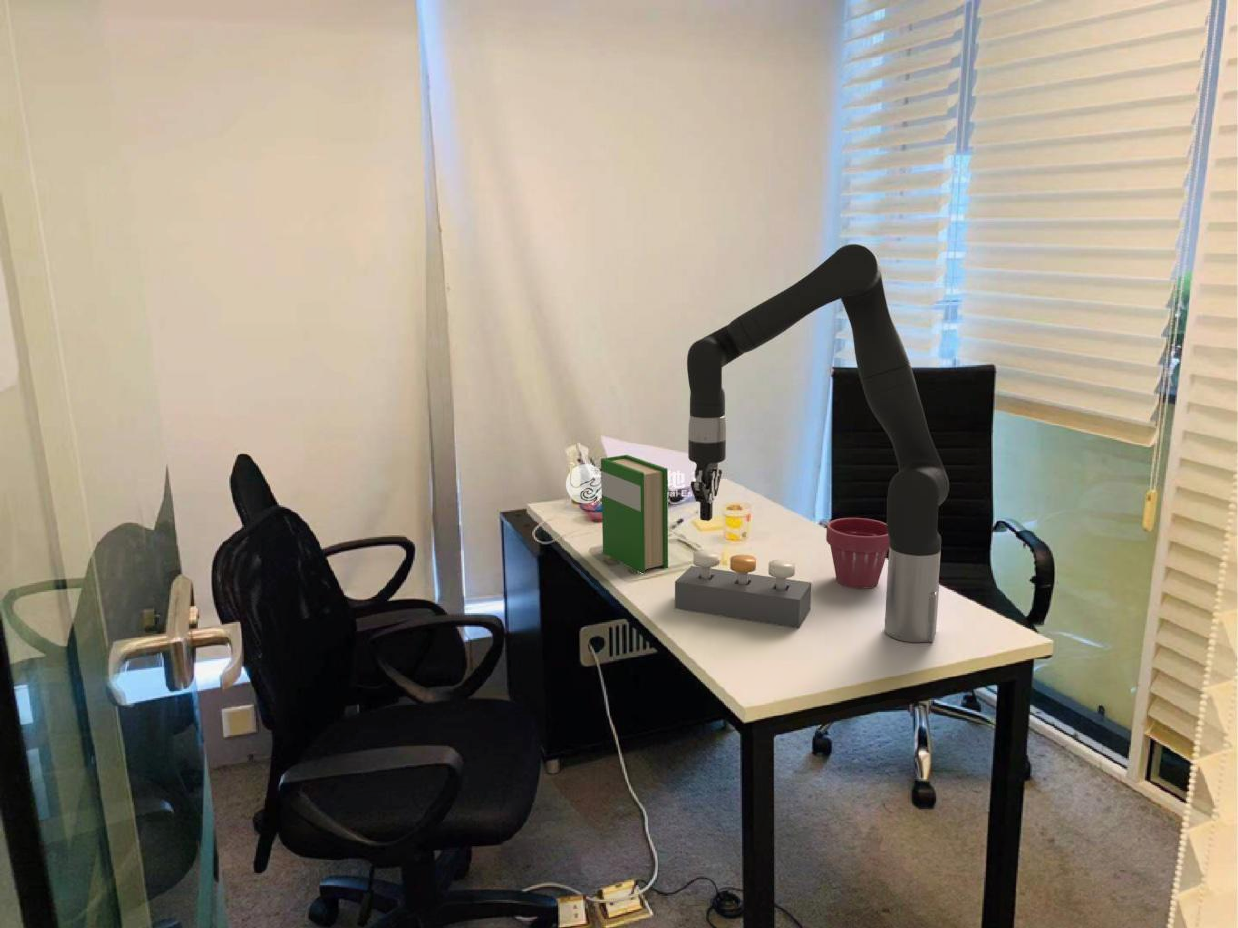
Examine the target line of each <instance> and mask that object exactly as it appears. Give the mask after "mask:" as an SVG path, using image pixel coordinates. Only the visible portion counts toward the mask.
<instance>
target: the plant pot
mask: <svg viewBox="0 0 1238 928" xmlns="http://www.w3.org/2000/svg"><path fill="white" fill-rule="evenodd" d="M825 541H826V543H827V544H828V545H829V546H830V551H831V557H832V563H833V568H834V569H833V570H834V573H835V579H836V581H837V582H838V583H839V584H840V585H842V586H845V587H848V588H854V589H871V588H874V587H876V586H877V585H878V583H879V582H880V581H879V580H880V577H881V574H882V571H883V568H884V565H885V561H886V557H887V554H888V552H889V535H888V532H887V522H886V523H885V522H883V521H880V520H875V519H871V518H865V517H864V518H861V517H843V518H837V519H834V520H831V521H829V522H828V523H827V524H826V536H825Z"/></svg>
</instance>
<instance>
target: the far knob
mask: <svg viewBox="0 0 1238 928" xmlns="http://www.w3.org/2000/svg"><path fill="white" fill-rule="evenodd" d="M692 554H693V558H692V559H693V562H692V563H693V566H695V567H701V579H706V580H711V569H712V568H715V567H717V566H718V565H719V561H720V560H719V556H720V555H719V553H718V552H717V551H716V550H712V549H711V550H710V549H700V550H696V551H694V552H693V553H692Z"/></svg>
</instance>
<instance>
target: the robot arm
mask: <svg viewBox="0 0 1238 928" xmlns="http://www.w3.org/2000/svg"><path fill="white" fill-rule="evenodd" d="M883 282H884V281H883V277H882V268H881V262H880V260H879V258H878V257H877V256H876V254H875V253H874V252H873V251H872V250H871V249H870V248H868V247H867V246H866V245H863V244H859V243H850V244H846V245H843V246H841V247H840V248H838V249H837V250H835V252H834V253H833V254H831V256H829V257H828V258H827V259H826V260H824V261H823V262H822V263H821V264H820V265H819V266H817V267H816V268H815V269H814V270H812V271H811V272H809V274H807V275H806V276H804V277H803V278H801V279H800V280H798V281H797V282H795V283H794V284H792V285H791V286H789V287H787V288H786V289H785V290H782V291H780V292H778V293H777V294H776V295H774V296H772V297H770V298H768V299H766V300H765V301H762V302H761V303H760V304H757V305H756V306H754V307H751V308H750V309H748V310H746V312H743V313H742V314H741V315H739V316H737V317H736V318H735V319H733V320H731V322H730V323H728V324H727V325H725V326H723V327H721V328H718V329H717V330H715V331H713V332H712V333H710V334H708V335H706V336H704V337H702V338H701V339H698V340H696V341H695V342H693V343H692V344H691V345H690V347H689V349H688V352H687V354H686V355H687V356H686V368H687V369H686V370H687V377H688V378H687V379H688V384H689V385H688V386H689V392H690V394H689V420H688V435H687V436H688V438H687V439H688V445H687V446H688V448H687V449H688V453H687V454H688V455H687V457H688V460H689V461H690V462H693V463H695V464H696V466H695V470H694V479H695V480H694V481H693V480H691V482H690V488H691V491H692V494H693V497H694V500H695V502H697V503H699V519H700V520H701V521H704V522H705V521H706V522H709V521H711V520H712V519H713V503H714V502H715V497H717V496H718V492H719V487H720V483H721V478H722V474H723V470H722V469H719V468H718V466H719V464H720V463H722V462H724V461H725V460H726V455H727V454H726V450H727V449H726V447H727V446H726V444H727V424H726V394H725V389H724V388H723V376H722V374H723V368H724V367H725V366H726V365H728V364H730V363H732V362H733V361H735V360H736V359H738V358H739V357H741V356H743V354H745V353H749V352H751V351H754V350H756V349H757V348H759V347H761V346H762V345H764V344H766V343H768V342H770V341H772V340H773V339H775V338H776V337H778V336H779V335H781V334H783V333H784V332H785V331H787V330H790V328H791V327H792V326H794V325H795V324H797V323H798V322H800V321H801V320H802V319H804V318H805V317H807V316H808V315H810V314H812V313H813V312H815V311H817V310H818V309H820V308H822V307H824V306H826V305H829V304H831V303H833V302H835V301H838V300H841V303H842V305H843V308H844V310H845V312H846V316H847V318H848V320H849V324H850V327H851V331H852V332H851V333H852V341H853V350H854V355H855V361H856V367H857V371H858V376H859V379H860V383H861V386H862V390H863V393H864V396H865V399H866V401H867V404H868V406H869V408H870V410H871V412H872V413H873V415H874V417H875V418H876V419H877V421H878V422H879V424H880V425H881V426H882V428H883V430H884V431H885V433H886V434H887V435H888V437H889V440H890V441H891V444H892V447H893V450H894V453H895V457H896V462H897V467H898V472H897V473H896V474H894V476H892V478H891V480H890V482H889V485H888V491H887V499H886V501H887V502H886V524H887V532H888V535H889V549H888V561H887V562H888V563H887V576H886V577H887V581H886V592H885V593H886V596H885V597H886V598H885V611H884V612H885V615H884V633H885V634H886V635H888V636H889V637H891V638H892V639H895V640H898V641H901V642H906V643H924V642H928V643H933V642H934V640H935V636H936V632H937V623H938V612H939V611H938V607H939V597H940V596H939V592H940V584H939V580H940V579H939V577H940V567H941V566H940V565H941V553H942V552H941V550H942V537H941V534H939V532H938V522H939V521H938V519H939V518H938V517H939V507H940V506H941V505H942V504H943V503H944V502H945V501H946V500H947V497H948V495H949V491H950V481H949V480H950V479H949V477H948V474H947V472H946V469H945V467H944V465H943V462H942V460H941V457H940V455H939V453H938V450H937V448H936V446H935V444H934V442H933V439H932V438H933V437H932V436H931V434H930V430H929V426H928V423H927V419H926V416H925V415H926V414H925V411H924V408H923V404H922V401H921V398H920V393H919V391H918V387H917V382H916V379H915V376H914V373H913V372H914V371H913V369H912V366H911V363H910V359H909V357H908V355H907V351H906V349H905V347H904V344H903V342H902V338H901V337H900V334H899V332H898V329H897V328H896V325H895V323H894V322H893V319H892V317H891V313H890V311H889V308H888V303H887V298H886V294H885V288H884V283H883ZM718 463H719V464H718Z"/></svg>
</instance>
